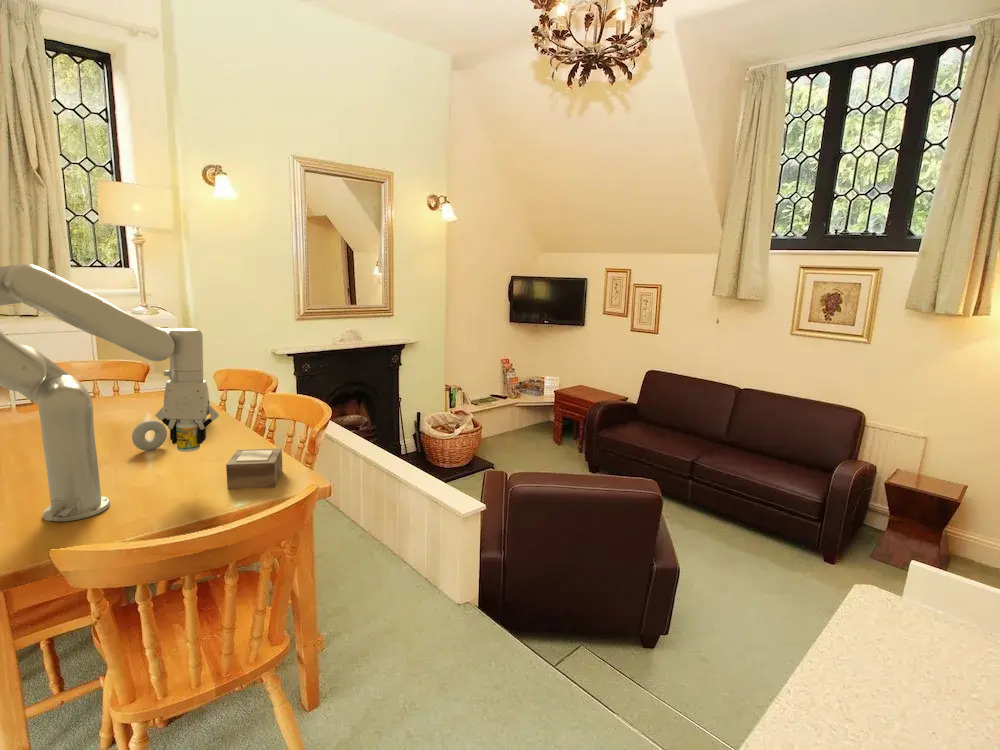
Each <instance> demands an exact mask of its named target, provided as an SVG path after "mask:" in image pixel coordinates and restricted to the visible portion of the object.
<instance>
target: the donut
mask: <svg viewBox="0 0 1000 750" xmlns="http://www.w3.org/2000/svg"><path fill="white" fill-rule="evenodd" d="M132 431H133V432H132V433H131V440H132V443H133V445H134V446H135V447H136V448H137V449H139V450H141V451H146V452H147V451H148V452H149V451H153V450H157V449H159V448H160V447H161V446H162V445H163V444H164V443H165V442H166V440H167V437H168V429H167V426H166V425H165V424H164V423H163V422H162V421H161V420H160V421H159V420H157V419H147V420H144V421H142V422H140V423H139V424H137V426H135V428H134V429H133V430H132ZM149 431H152V432H154V437H152V438H151V439H146V436H145V435H146V434H147V432H149Z"/></svg>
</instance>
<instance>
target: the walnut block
mask: <svg viewBox="0 0 1000 750" xmlns="http://www.w3.org/2000/svg"><path fill="white" fill-rule="evenodd" d="M282 450H283V449H282V448H259V449H257V448H255V449H253V448H252V449H237V450H236V451H235V452H234V454H233V455H232V456H231V458H230V459H229V460H228V462H227V463H226V464H225V466H226V467H225V468H226V483H227V484H226V485H227V487H226V488H227V490H241V489H247V490H248V489H265V488H266V489H267V488H268V489H269V488H276V486H277V484H278V483H279V480H280V478H281V476H282V474H283V471H282V470H283V453H282V452H283V451H282ZM280 475H281V476H280ZM279 477H280V478H279Z"/></svg>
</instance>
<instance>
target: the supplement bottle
mask: <svg viewBox="0 0 1000 750" xmlns="http://www.w3.org/2000/svg"><path fill="white" fill-rule="evenodd" d="M198 429H199V425H198V423H197V421H196V420H180V422H178V423H177V425H176V434H177V443H176V449H177V451H179V452H181V453H183V452H184V453H190V452H195V451H196V452H197V450H199V449H200V448H201V444H198V440H197V430H198Z"/></svg>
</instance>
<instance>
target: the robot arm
mask: <svg viewBox="0 0 1000 750" xmlns="http://www.w3.org/2000/svg"><path fill="white" fill-rule="evenodd" d="M20 303H22V304H23V305H27V306H29V307H30V308H32V309H34V310H37V311H40V312H42V313H44V314H46V315H48V316H51V317H52V318H55V319H57V320H59V321H62V322H64V323H66V324H67V325H70V326H71V327H72V326H73V327H74V328H76V329H79V330H81V331H83V332H84V333H86V334H89V335H92V336H94V337H98V338H101V339H103V340H105V341H107V342H108V343H109V342H110V343H112V344H114V345H116V346H118V347H120V348H122V349H125V350H127V351H128V352H130V353H133V354H135V355H138V356H139V357H142V358H144V359H146V360H149V361H152V362H162V361H165V360H167V359H169V369H168V370H164V371H163V376H164V377H166V376H167V377H168V378H169V380H167V381H166V382H165V388H164V395H163V406H162V407H161V408H160V409H159V410H158V412H156V413H155V417H156V418H157V419H158V420H160V422H161V423H163V424H164V426H166V427H167V428H168V429H169V438H170V439H169V440H171V441H172V442H171V444H172V445H176V444H177V434H176V425H177V423H178V420H197V423H198V425H199V429H198V430H197V440H198V444H200V445H202V444H203V442H204V441H206V438H207V427H208V426H209V425H210V424H211V423H213V422H214V421H215V420H217V418H219V417H220V414H219V413H218V412H217V411H216V409H215V408H214V407H212V406H211V402H210V393H209V389H208V383H207V380H205V379H204V350H203V349H204V348H203V347H204V345H203V340H204V337H203V333H202V331H201V330H199V329H197V328H190V327H181V328H180V327H179V328H177V327H176V328H162V327H155V326H153V325H151V324H148V323H147V322H146V321H143V320H141V319H139V318H137V317H135V316H134V315H131V314H129V313H128V312H126V311H124V310H122V309H120V308H119V307H117V306H116V305H114V304H112V303H111V302H109V301H108V300H106V299H104V298H102V297H100V296H99V295H96V294H94V293H92V292H90V291H88V290H86V289H84V288H82V287H80V286H78V285H76V284H75V283H72V282H70V281H69V280H66V279H65V278H63V277H61V276H58V275H57V274H55V273H52V272H51V271H48V270H47V269H45V268H42V267H40V266H39V265H35V264H32V263H18V264H17V263H16V264H11V265H3V266H0V307H2V306H8V305H14V304H20ZM0 386H1V387H3V388H4V389H6V390H9V391H13V392H18V393H19V394H21V395H22V396H24V397H25V398H27V399H28V400H30V401H31V402H33V403H34V404H36V405H37V407H38V414H39V420H40V427H41V437H42V445H43V454H44V459H45V460H44V461H45V470H46V475H47V484H48V485H47V486H48V491H49V492H48V494H49V499H50V505H49V506H47V507H46V508H45V509H44V510H43V513H42V518H43V520H45V521H50V522H71V521H77V520H78V521H79V520H81V519H86V518H89V517H93V516H95V515H98V514H100V513H103V512H104V511H106V510H107V508H109V506H110V502H111V501H110V498H108V497H106V496H104V495H102V492H101V484H100V483H101V482H100V473H99V464H98V463H99V462H98V455H97V453H98V452H97V445H96V437H95V436H96V435H95V424H94V405H93V400H92V397H91V394H90V393H89V391H88V389H86V387H85V386H84V385H83V384H82V382H80V381H79V380H78V379H77V378H76V377H74V376H73V375H72V374H70V373H69V372H68V371H66V370H65V369H63V368H62V367H60V366H59V365H58V364H56V363H55V362H53V361H52V360H51V359H50V358H48V357H47V356H45V355H44V354H43V353H42V352H40V351H39V350H37V349H35V348H34V347H31V346H29V345H25V344H21V343H18V342H17V341H16V340H15V339H13V338H12V337H10V336H9V335H7V334H6V333H5V332H3V330H2V329H0ZM208 415H209V416H210V417H208V418H207V420H206V419H205V417H206V416H208Z"/></svg>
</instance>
